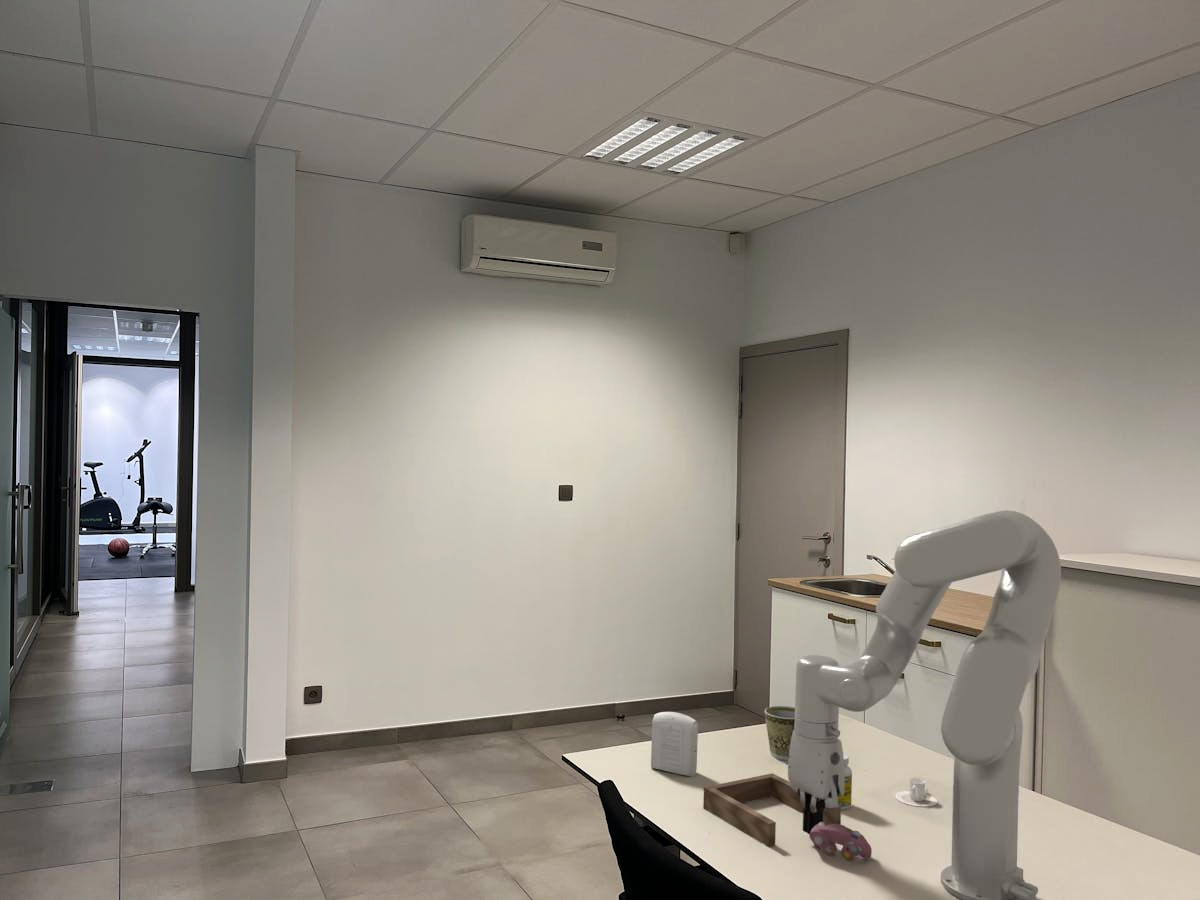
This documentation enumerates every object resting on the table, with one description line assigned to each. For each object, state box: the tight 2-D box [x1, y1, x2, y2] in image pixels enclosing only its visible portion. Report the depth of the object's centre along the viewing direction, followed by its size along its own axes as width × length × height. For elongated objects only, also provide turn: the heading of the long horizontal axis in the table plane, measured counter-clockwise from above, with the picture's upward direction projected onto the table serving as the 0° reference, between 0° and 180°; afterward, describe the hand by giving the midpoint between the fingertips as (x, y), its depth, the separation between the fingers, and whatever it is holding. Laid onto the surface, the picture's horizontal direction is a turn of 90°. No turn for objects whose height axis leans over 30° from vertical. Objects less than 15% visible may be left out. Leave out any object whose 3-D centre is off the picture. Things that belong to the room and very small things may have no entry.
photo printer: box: [650, 711, 699, 777], centre depth 193 cm, size 10×4×12 cm, turn 60°
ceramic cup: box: [764, 705, 795, 762], centre depth 202 cm, size 13×10×10 cm
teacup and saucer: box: [895, 777, 938, 808], centre depth 180 cm, size 9×8×4 cm
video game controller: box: [808, 822, 873, 862], centre depth 153 cm, size 10×5×7 cm, turn 57°
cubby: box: [702, 773, 842, 848], centre depth 168 cm, size 19×17×4 cm
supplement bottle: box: [837, 753, 853, 811], centre depth 175 cm, size 5×5×10 cm
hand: (812, 831), depth 158 cm, fingers closed
